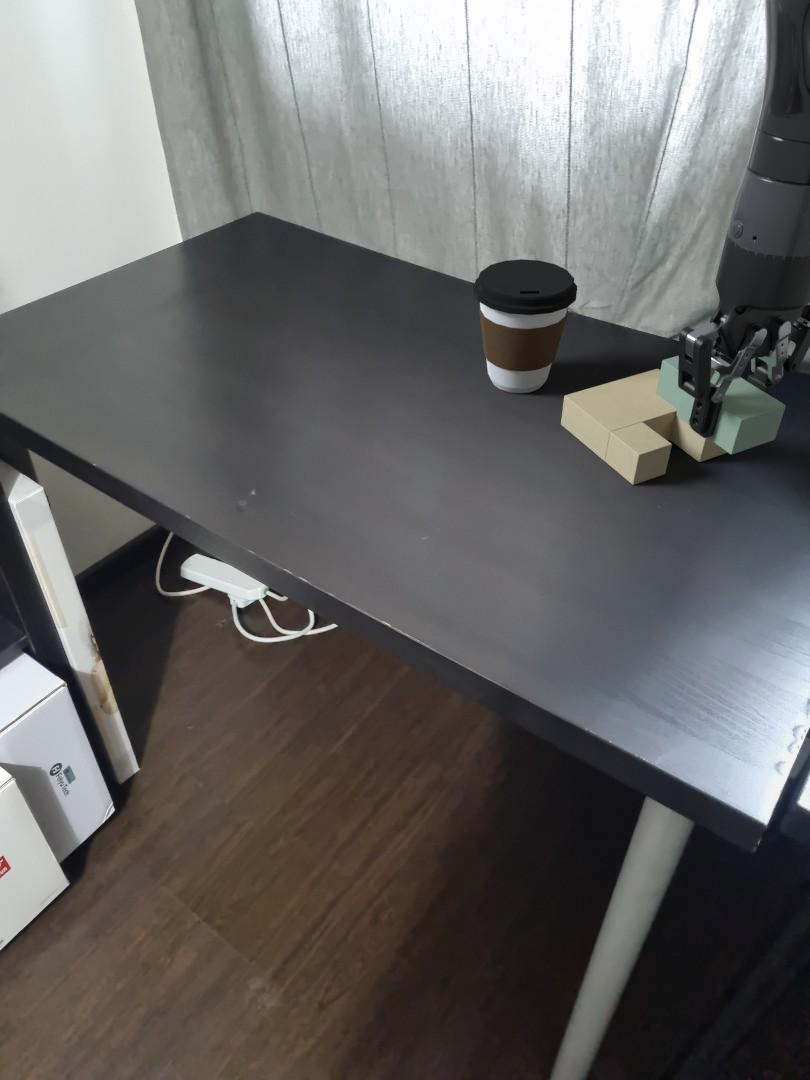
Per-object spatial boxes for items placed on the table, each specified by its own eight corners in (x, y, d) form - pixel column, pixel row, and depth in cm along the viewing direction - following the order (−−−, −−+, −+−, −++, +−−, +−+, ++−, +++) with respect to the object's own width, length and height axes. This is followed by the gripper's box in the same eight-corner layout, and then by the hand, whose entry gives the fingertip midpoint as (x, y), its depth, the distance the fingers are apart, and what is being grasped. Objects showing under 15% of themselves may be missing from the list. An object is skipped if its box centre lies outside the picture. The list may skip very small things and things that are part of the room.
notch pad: (729, 452, 82) (738, 422, 80) (632, 485, 78) (639, 455, 76) (651, 396, 90) (657, 368, 88) (560, 424, 87) (564, 395, 84)
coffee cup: (572, 404, 89) (587, 299, 82) (472, 405, 90) (476, 300, 82) (559, 356, 98) (571, 256, 90) (467, 356, 98) (470, 257, 90)
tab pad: (775, 439, 72) (786, 405, 69) (731, 455, 70) (741, 420, 68) (688, 382, 79) (697, 349, 77) (647, 395, 78) (654, 362, 75)
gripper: (744, 269, 57) (691, 469, 68) (889, 232, 62) (818, 424, 73) (671, 233, 62) (633, 424, 73) (811, 201, 67) (755, 386, 78)
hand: (726, 423), depth 73 cm, fingers closed on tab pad, 5 cm apart
